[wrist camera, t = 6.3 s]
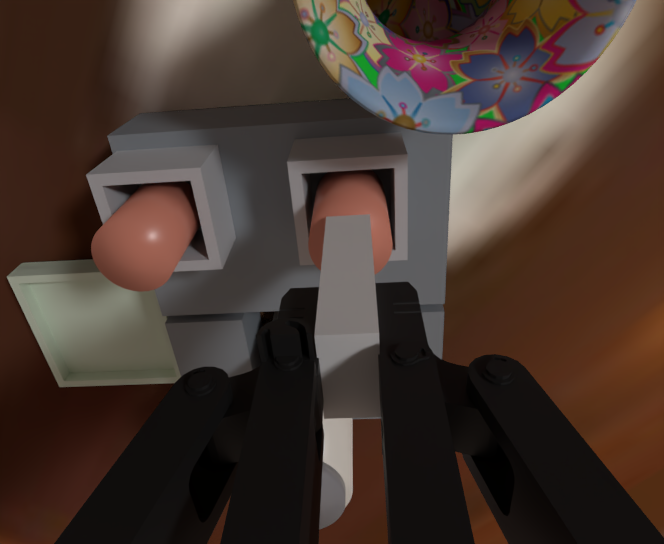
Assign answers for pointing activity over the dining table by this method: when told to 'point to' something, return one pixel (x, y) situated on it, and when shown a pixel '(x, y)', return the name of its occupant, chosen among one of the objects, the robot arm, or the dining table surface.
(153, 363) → the tray
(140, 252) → the plunger
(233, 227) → the housing
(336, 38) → the mug
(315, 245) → the plunger
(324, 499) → the cylinder
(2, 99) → the dining table surface
